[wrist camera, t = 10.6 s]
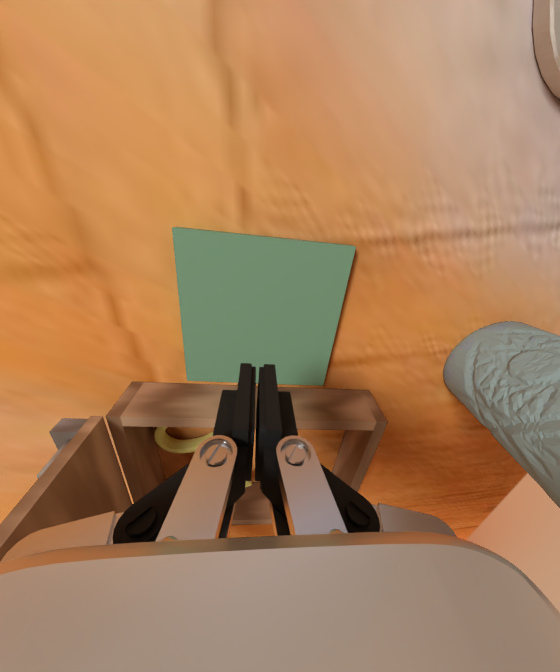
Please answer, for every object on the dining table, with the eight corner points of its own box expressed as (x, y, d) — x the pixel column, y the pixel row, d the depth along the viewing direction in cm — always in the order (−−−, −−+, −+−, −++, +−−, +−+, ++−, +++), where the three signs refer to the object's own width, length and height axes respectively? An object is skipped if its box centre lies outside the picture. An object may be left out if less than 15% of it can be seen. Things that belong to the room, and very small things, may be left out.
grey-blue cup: (463, 309, 20) (696, 423, 9) (569, 314, 21) (892, 422, 10) (421, 401, 24) (543, 546, 14) (509, 401, 25) (687, 537, 15)
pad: (352, 245, 17) (356, 246, 16) (321, 380, 22) (323, 385, 22) (176, 226, 15) (172, 227, 15) (189, 374, 21) (187, 380, 20)
